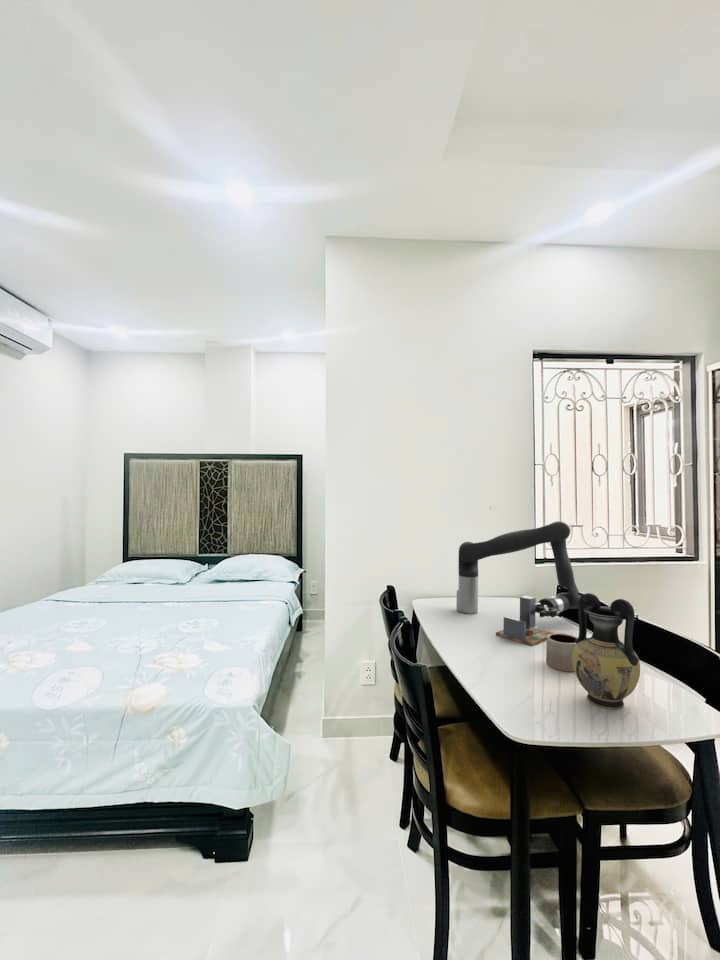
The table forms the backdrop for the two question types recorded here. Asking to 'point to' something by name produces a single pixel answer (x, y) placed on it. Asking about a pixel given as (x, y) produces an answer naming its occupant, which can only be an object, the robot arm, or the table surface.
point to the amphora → (606, 652)
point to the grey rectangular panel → (515, 628)
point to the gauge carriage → (528, 613)
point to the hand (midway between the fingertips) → (530, 612)
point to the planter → (560, 651)
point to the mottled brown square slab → (528, 637)
